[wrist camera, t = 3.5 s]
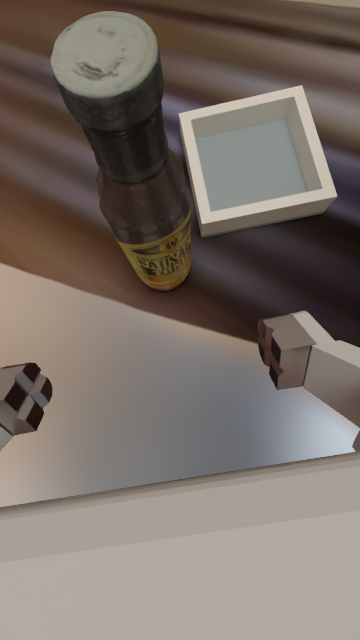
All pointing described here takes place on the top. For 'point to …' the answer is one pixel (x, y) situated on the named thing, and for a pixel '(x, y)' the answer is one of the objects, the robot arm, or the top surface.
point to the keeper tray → (255, 162)
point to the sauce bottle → (128, 140)
